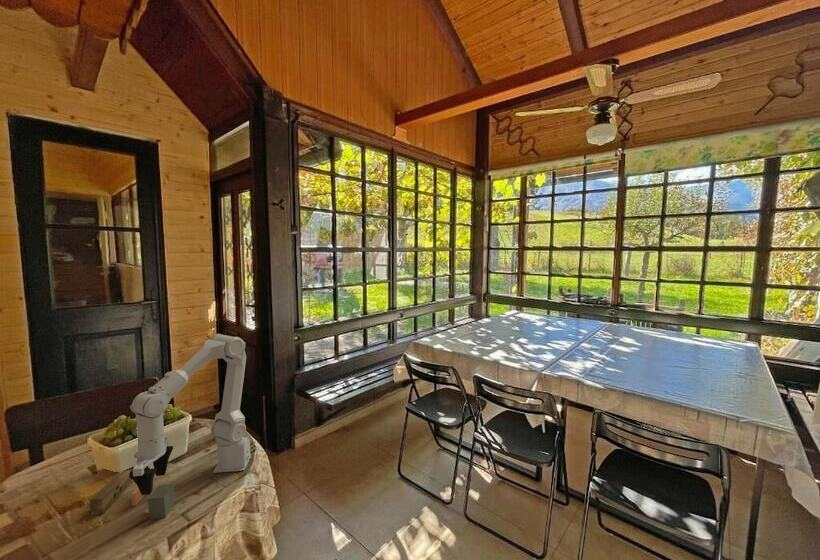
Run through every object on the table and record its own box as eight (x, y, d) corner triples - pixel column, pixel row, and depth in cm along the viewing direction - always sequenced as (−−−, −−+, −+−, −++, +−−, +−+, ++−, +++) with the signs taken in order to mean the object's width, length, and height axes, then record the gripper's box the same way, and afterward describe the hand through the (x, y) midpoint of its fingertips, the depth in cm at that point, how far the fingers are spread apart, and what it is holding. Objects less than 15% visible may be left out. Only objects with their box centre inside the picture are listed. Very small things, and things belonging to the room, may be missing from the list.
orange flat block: (152, 485, 106) (152, 474, 106) (136, 505, 99) (135, 493, 98) (149, 485, 106) (148, 475, 106) (132, 505, 98) (131, 494, 98)
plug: (175, 504, 100) (173, 484, 99) (165, 517, 95) (164, 497, 94) (154, 506, 99) (152, 486, 98) (143, 519, 94) (141, 499, 93)
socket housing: (132, 483, 108) (131, 469, 107) (104, 513, 96) (102, 498, 95) (121, 484, 107) (120, 470, 107) (91, 514, 95) (89, 499, 95)
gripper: (148, 424, 100) (151, 468, 101) (117, 453, 86) (121, 505, 87) (175, 422, 101) (178, 466, 103) (149, 450, 87) (153, 501, 89)
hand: (153, 484), depth 95 cm, fingers open, 7 cm apart
